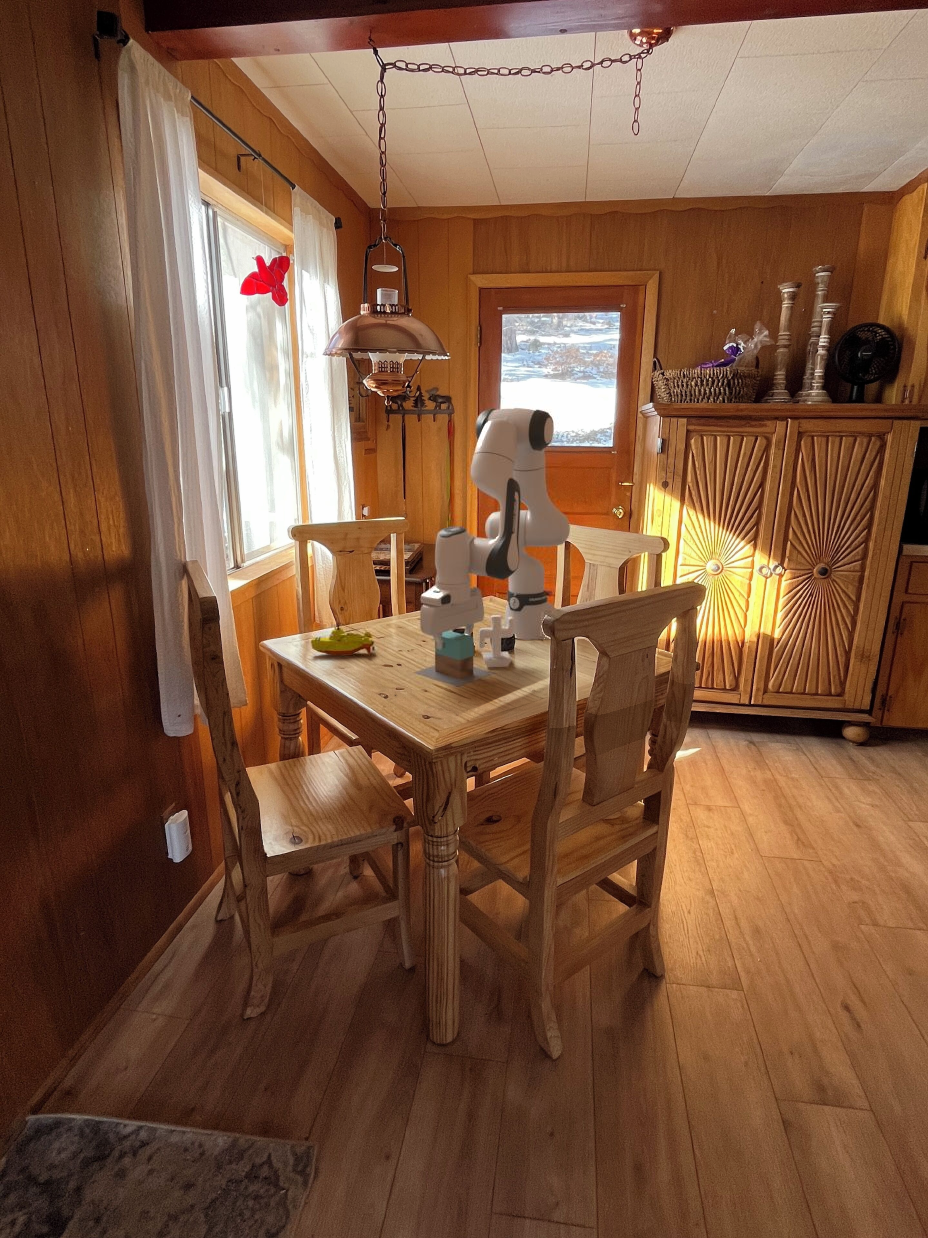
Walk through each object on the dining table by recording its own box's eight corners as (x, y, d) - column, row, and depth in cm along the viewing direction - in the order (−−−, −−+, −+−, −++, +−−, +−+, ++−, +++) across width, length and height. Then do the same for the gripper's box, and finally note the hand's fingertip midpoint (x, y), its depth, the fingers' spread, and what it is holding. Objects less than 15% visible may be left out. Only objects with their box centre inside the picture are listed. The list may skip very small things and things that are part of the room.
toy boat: (374, 657, 201) (372, 623, 198) (310, 659, 199) (308, 625, 197) (375, 650, 207) (373, 618, 204) (313, 652, 206) (311, 619, 203)
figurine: (477, 665, 193) (477, 612, 189) (511, 664, 194) (511, 611, 190) (480, 674, 186) (480, 619, 182) (515, 672, 187) (516, 618, 183)
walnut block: (448, 666, 187) (448, 648, 186) (473, 674, 181) (473, 655, 180) (435, 671, 184) (434, 653, 182) (460, 679, 178) (459, 660, 176)
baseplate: (451, 665, 193) (451, 660, 193) (494, 678, 182) (495, 672, 182) (413, 678, 183) (413, 672, 183) (457, 692, 173) (457, 686, 172)
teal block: (448, 648, 186) (448, 630, 185) (473, 655, 180) (473, 637, 179) (435, 653, 182) (434, 634, 181) (460, 660, 176) (459, 641, 175)
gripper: (471, 583, 186) (472, 633, 190) (415, 597, 172) (416, 650, 175) (489, 587, 182) (489, 638, 186) (433, 601, 168) (434, 656, 171)
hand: (453, 644), depth 180 cm, fingers open, 8 cm apart
